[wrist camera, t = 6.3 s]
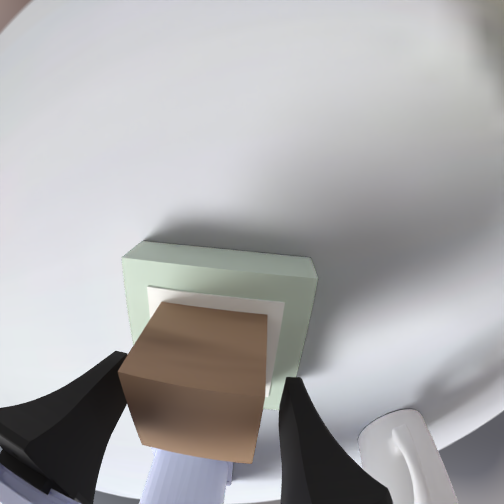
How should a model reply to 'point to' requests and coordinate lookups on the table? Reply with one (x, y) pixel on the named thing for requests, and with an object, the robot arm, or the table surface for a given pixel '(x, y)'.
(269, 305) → the base plate
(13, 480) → the robot arm
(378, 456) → the mug
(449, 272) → the table surface
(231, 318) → the walnut cube
